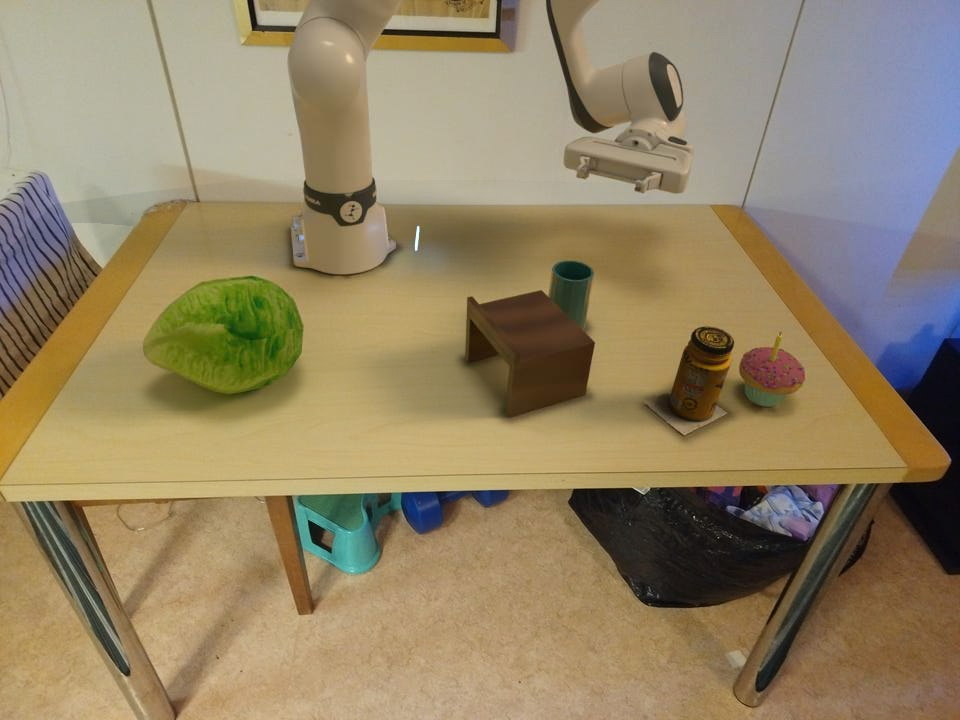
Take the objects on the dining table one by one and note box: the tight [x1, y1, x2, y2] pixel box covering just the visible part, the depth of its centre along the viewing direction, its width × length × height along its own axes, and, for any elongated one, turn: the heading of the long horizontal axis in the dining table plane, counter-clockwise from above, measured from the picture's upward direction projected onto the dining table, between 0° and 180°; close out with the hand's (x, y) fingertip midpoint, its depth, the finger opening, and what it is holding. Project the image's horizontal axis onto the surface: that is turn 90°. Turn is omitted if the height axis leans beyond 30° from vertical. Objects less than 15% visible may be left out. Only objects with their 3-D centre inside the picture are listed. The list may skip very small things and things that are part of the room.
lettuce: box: [142, 275, 304, 395], centre depth 86 cm, size 17×20×15 cm
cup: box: [548, 259, 595, 332], centre depth 101 cm, size 6×6×10 cm
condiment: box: [644, 325, 735, 436], centre depth 86 cm, size 7×8×12 cm
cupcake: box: [738, 330, 806, 408], centre depth 89 cm, size 9×8×12 cm
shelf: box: [464, 289, 596, 418], centre depth 91 cm, size 14×12×11 cm
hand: (609, 180), depth 100 cm, fingers open, 8 cm apart
